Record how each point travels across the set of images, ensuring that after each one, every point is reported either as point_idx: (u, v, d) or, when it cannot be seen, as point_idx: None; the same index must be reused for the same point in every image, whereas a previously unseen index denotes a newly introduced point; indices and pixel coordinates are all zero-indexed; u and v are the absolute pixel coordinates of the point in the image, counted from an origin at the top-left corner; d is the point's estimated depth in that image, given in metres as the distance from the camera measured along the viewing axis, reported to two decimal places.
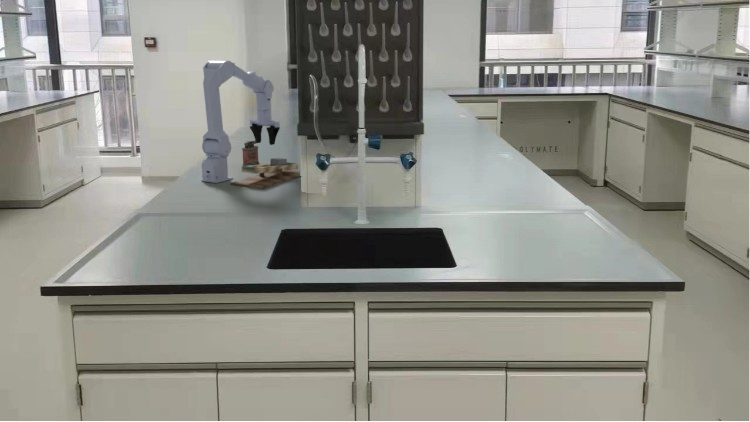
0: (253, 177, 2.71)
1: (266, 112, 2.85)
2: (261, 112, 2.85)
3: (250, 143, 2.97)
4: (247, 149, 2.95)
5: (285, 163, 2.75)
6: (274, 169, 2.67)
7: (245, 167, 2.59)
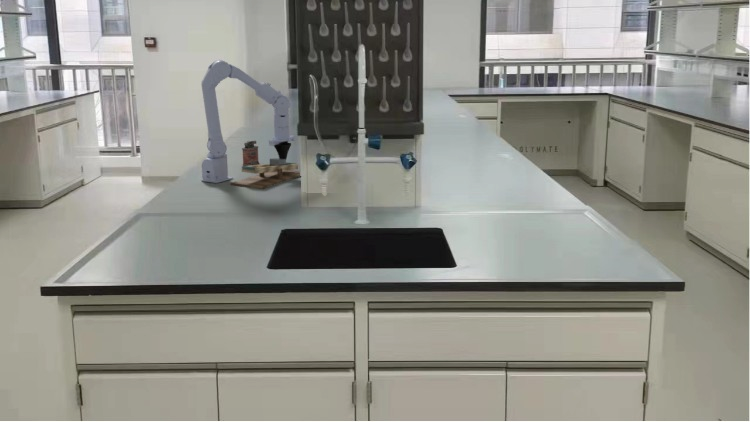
0: (253, 177, 2.71)
1: (275, 129, 2.72)
2: None
3: (250, 143, 2.97)
4: (247, 149, 2.95)
5: (284, 163, 2.74)
6: (274, 169, 2.67)
7: (245, 167, 2.59)
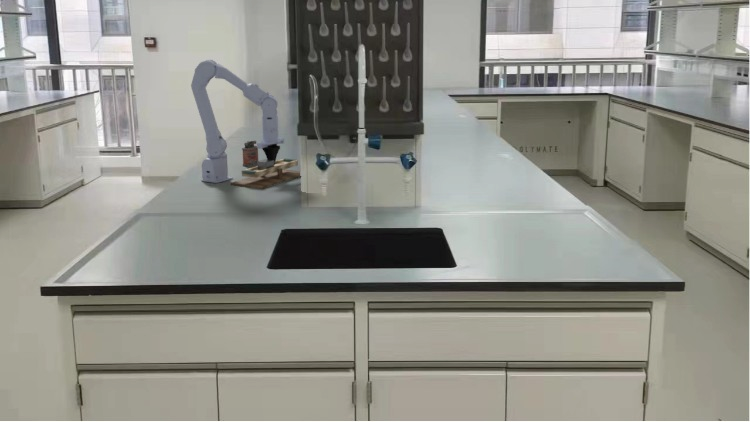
0: (253, 177, 2.71)
1: (263, 131, 2.66)
2: None
3: (250, 143, 2.97)
4: (247, 149, 2.95)
5: (272, 165, 2.68)
6: (274, 169, 2.67)
7: (245, 171, 2.59)
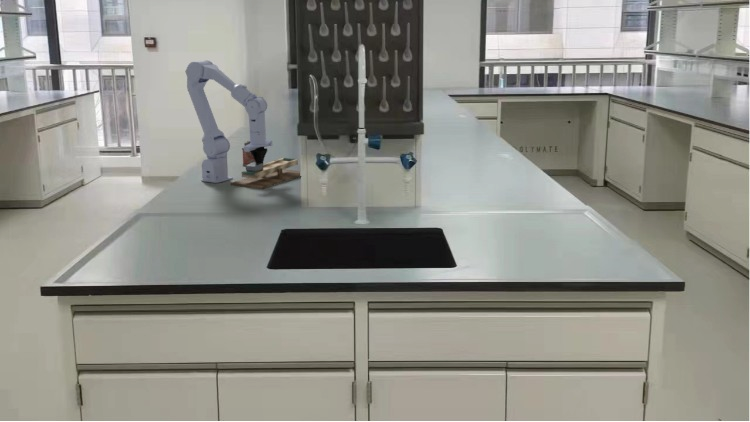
0: None
1: (250, 134, 2.59)
2: None
3: None
4: None
5: (261, 168, 2.62)
6: (274, 169, 2.67)
7: (245, 172, 2.59)
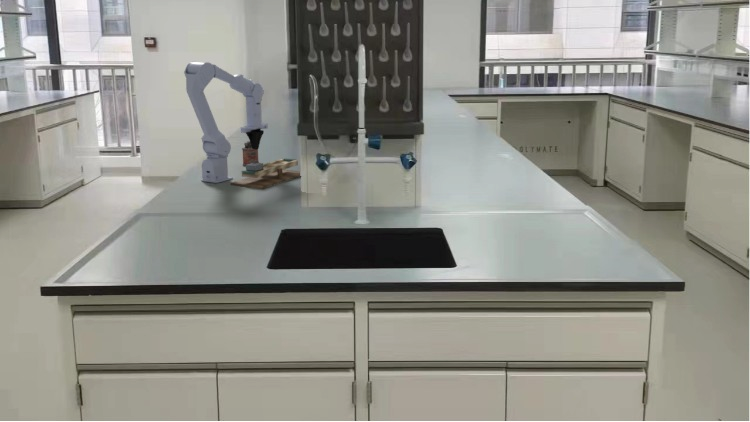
0: None
1: (247, 116, 2.77)
2: None
3: (250, 143, 2.97)
4: (247, 149, 2.95)
5: (262, 168, 2.62)
6: (274, 169, 2.67)
7: (245, 172, 2.59)
